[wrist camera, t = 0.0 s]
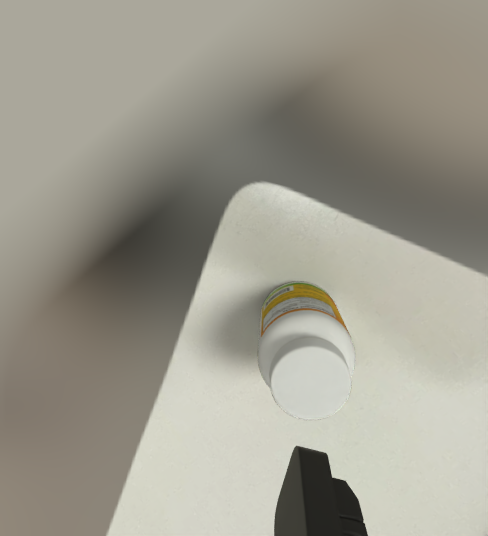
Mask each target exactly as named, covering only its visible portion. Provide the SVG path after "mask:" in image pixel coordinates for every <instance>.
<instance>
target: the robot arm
mask: <svg viewBox="0 0 488 536" xmlns="http://www.w3.org/2000/svg"><path fill="white" fill-rule="evenodd" d="M363 520H364V519H363V516H362V512H361V508H360V504H359V501H358V499H357V497H356V496H355V494H354V493H353V491H352V490H351V488H350V487H349V486H348V484H347V483H346V481H344V480H340V479H336V478H332V475H331V470H330V465H329V460H328V456H327V454H326V453H324V452H320V451H316V450H312V449H308V448H304V447H300V446H296V447H295V448H294V450H293V453H292V456H291V459H290V462H289V466H288V469H287V472H286V475H285V479H284V482H283V485H282V488H281V491H280V495H279V498H278V502H277V507H276V513H275V524H274V536H368V535H367V531H366V527H365V523H363Z"/></svg>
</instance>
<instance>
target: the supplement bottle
mask: <svg viewBox="0 0 488 536" xmlns="http://www.w3.org/2000/svg"><path fill="white" fill-rule="evenodd" d="M355 359H356V355H355V348H354V345H353V342H352V339H351V337H350V334H349V332H348V330H347V328H346V326H345V324H344V322H343V320H342V318H341V316H340V313H339V311H338V309H337V307H336V305H335V303H334V301H333V300H332V298H331V297H330V296H329V295H328V293H327V292H325V291H324V290H323V289H321V288H320V287H318V286H316V285H314V284H311V283H307V282H291V283H287V284H284V285H282V286H280V287H278V288H276V289H275V290H274V291H273V292H271V293H270V295H269V296H268V297H267V298H266V300H265V302H264V304H263V306H262V309H261V314H260V324H259V342H258V365H259V369H260V372H261V375H262V377H263V379H264V381H265V382H266V384H267V385H268V387H269V388H270V389H271V393H272V396H273V398H274V400H275V402H276V403H277V405H278V406H279V407H280V408H281V409H282V410H283V411H285V412H286V413H287V414H289V415H291V416H293V417H295V418H298V419H303V420H319V419H323V418H326V417H329V416H331V415H332V414H334V413H336V412H337V411H338V410H339V409H341V408H342V406H343V405H344V404H345V402H346V401H347V399H348V397H349V395H350V392H351V386H352V379H351V376H352V374H353V371H354V367H355Z"/></svg>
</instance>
